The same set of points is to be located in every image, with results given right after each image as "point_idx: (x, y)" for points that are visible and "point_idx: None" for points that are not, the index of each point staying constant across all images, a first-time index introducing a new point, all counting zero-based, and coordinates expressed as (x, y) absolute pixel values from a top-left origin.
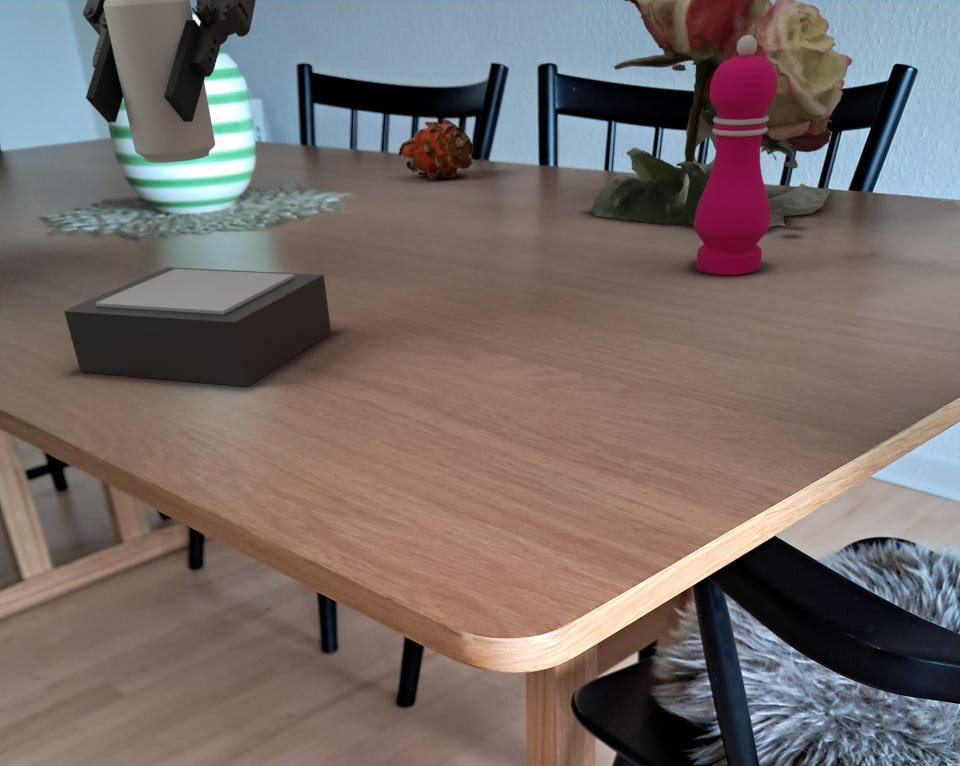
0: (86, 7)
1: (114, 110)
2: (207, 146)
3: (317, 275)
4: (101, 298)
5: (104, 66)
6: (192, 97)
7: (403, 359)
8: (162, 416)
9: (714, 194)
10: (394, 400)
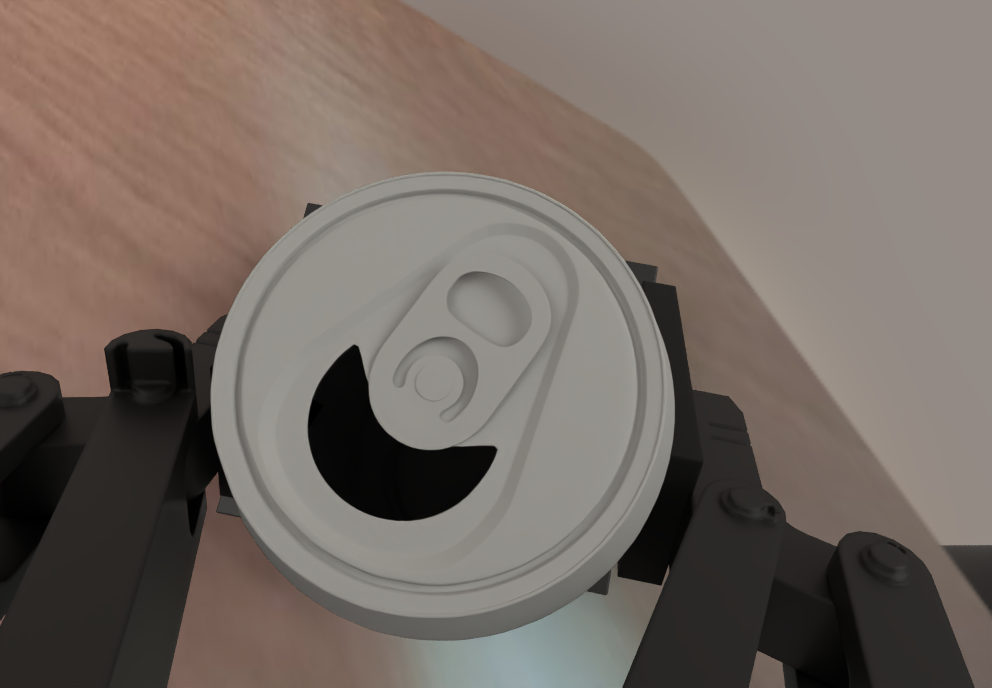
0: (926, 592)
1: None
2: (360, 439)
3: (228, 504)
4: None
5: None
6: None
7: (107, 374)
8: (418, 140)
9: None
10: (105, 205)
